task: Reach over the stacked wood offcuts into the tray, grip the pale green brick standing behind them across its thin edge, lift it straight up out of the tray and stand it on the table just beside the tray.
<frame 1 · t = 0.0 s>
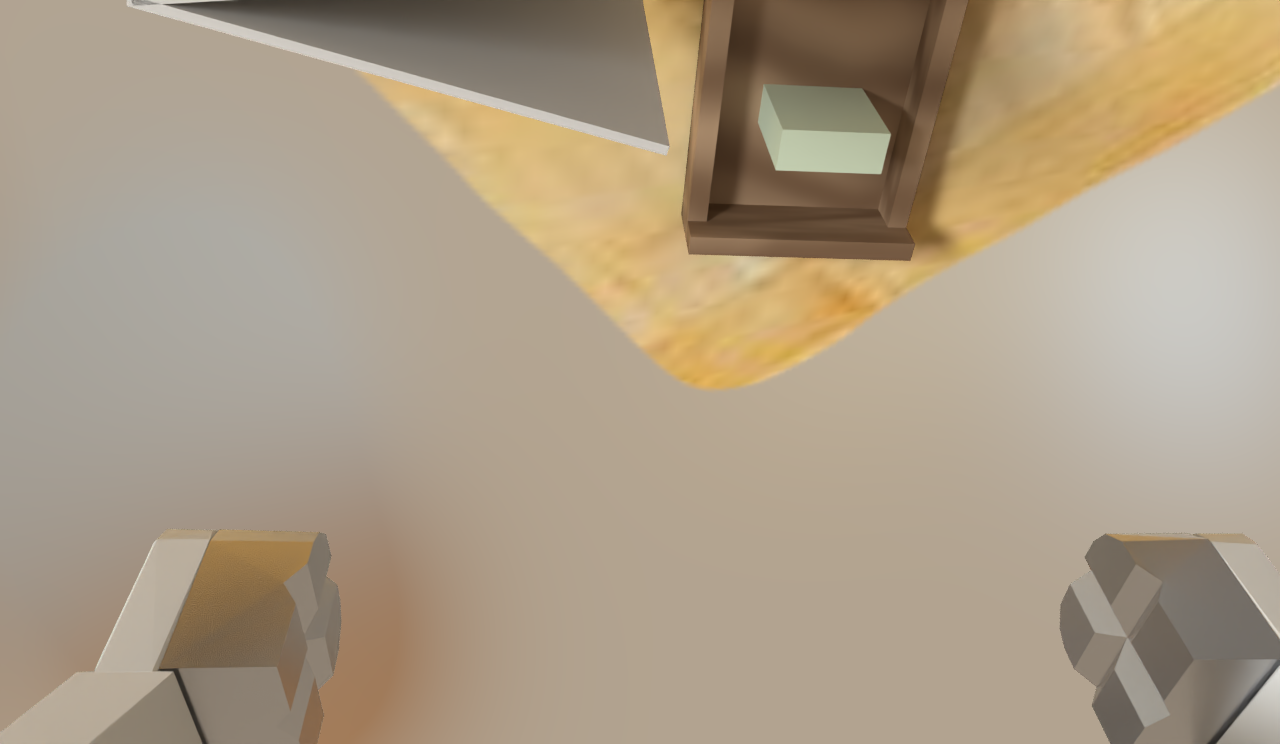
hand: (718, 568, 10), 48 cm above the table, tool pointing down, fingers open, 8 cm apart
tray: (815, 61, 56), on the table
pale green brick: (809, 105, 57), point 1 cm above the table, touching tray
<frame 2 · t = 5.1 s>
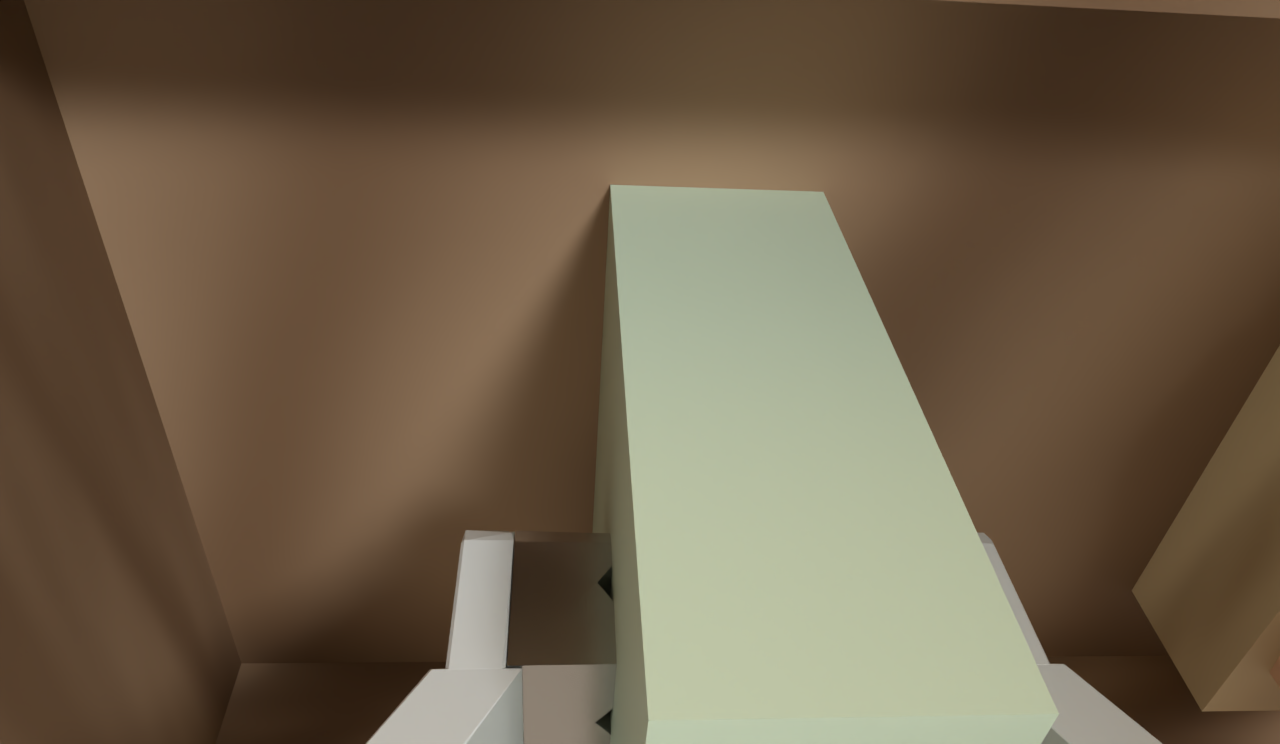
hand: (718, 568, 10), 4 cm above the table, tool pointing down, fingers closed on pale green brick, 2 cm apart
tray: (865, 370, 13), on the table
pale green brick: (691, 395, 12), point 1 cm above the table, touching gripper, tray
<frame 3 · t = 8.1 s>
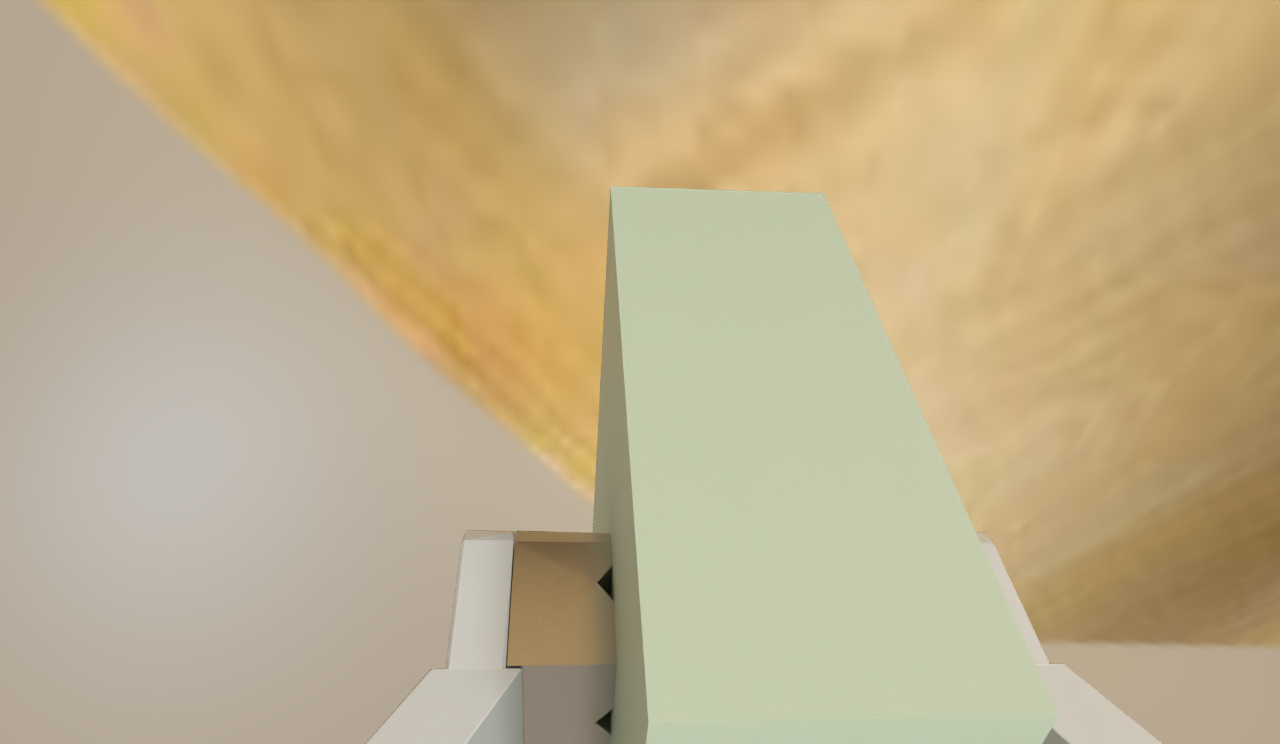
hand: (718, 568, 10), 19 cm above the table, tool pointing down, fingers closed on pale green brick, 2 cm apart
pale green brick: (691, 397, 12), point 16 cm above the table, touching gripper
when the fingers open (4 cm above the table, at t = 11.0 s): pale green brick stays where it is, on the table.
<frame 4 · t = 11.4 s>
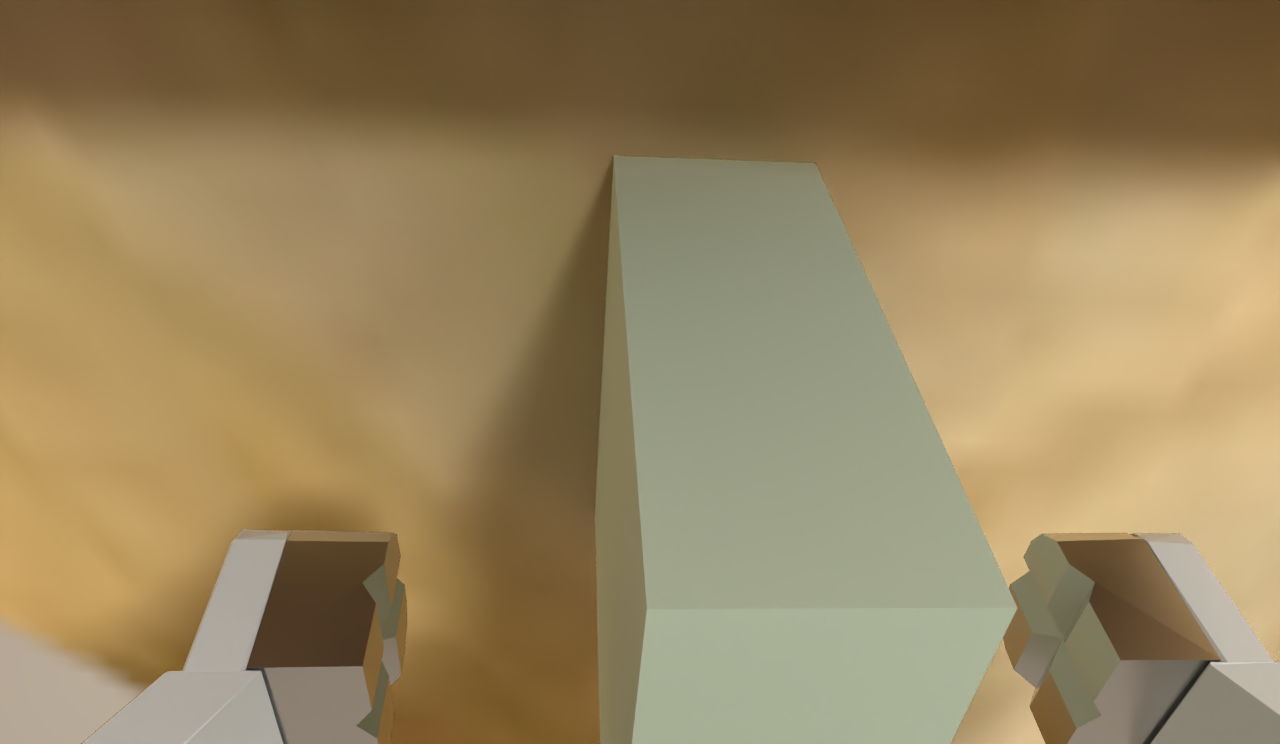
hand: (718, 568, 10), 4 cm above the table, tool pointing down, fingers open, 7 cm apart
pale green brick: (690, 360, 13), on the table
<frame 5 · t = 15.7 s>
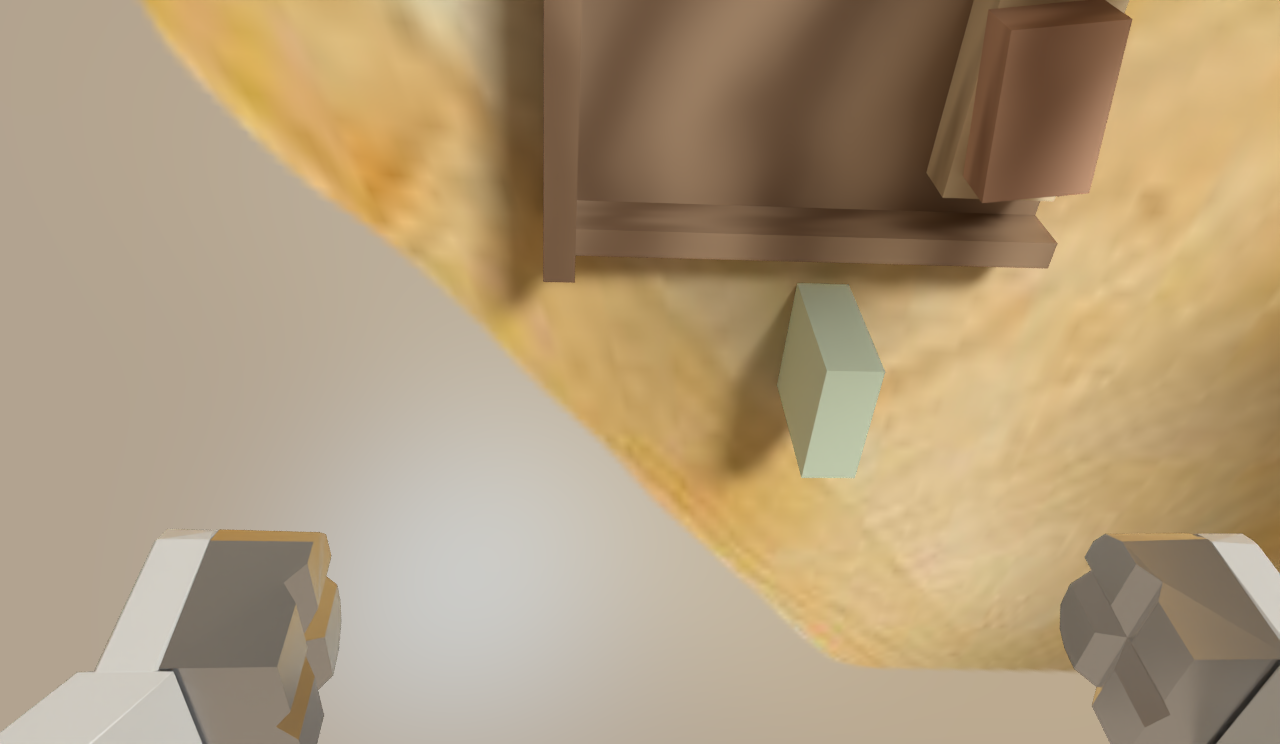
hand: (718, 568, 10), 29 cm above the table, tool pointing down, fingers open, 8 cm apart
tray: (818, 66, 37), on the table
pale green brick: (811, 336, 45), on the table
offcut a: (1009, 80, 37), point 1 cm above the table, touching offcut b, tray
offcut b: (1028, 92, 35), point 3 cm above the table, touching offcut a
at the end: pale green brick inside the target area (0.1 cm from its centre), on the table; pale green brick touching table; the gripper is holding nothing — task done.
